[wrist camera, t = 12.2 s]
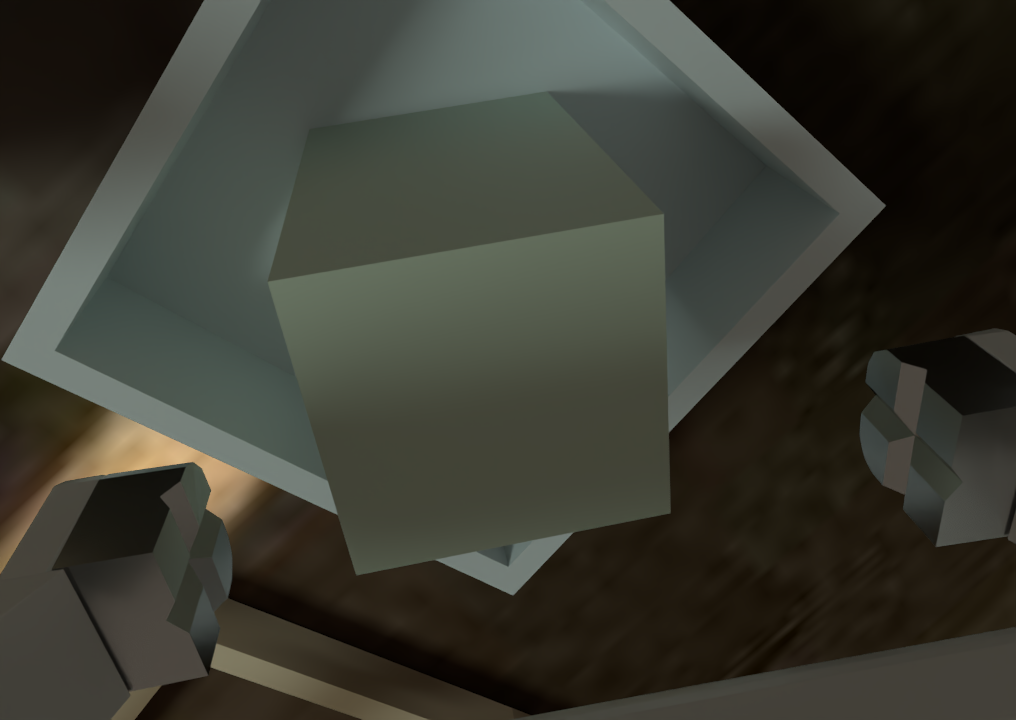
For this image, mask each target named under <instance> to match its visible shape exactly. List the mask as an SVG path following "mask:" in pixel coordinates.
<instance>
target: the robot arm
mask: <svg viewBox="0 0 1016 720" xmlns="http://www.w3.org/2000/svg"><path fill="white" fill-rule="evenodd" d="M866 383H867V385H868V386H869V387H870V389H871V390H872V391H873V392H874V394H875V397H874V398H873V399H872V400H871V402H870V403H869V404H868V405H867V407H866V408H865V409H864V410H863V411H862V413H861V425H860V440H861V444H862V449H863V454H864V457H865V459H866V461H867V463H868V465H869V467H870V469H871V471H872V473H873V474H874V475H875V476H876V478H877V479H878V480H879V481H880V482H881V484H882V485H884V486H886V487H888V488H890V489H893V490H895V491H897V492H900V493H902V494H904V495H905V500H904V507H903V510H904V511H905V512H906V513H907V514H908V515H909V516H910V518H911V519H912V520H913V521H914V522H915V523H916V525H917V526H918V527H919V528H920V529H921V530H922V531H923V533H924V534H925V535H926V536H927V537H928V538H929V540H930V541H931V542H932V543H933V544H934V545H935V546H936V547H938V546H945V545H951V544H958V543H965V542H972V541H978V540H985V539H992V538H998V537H1005V536H1009V537H1008V540H1010V541H1012V542H1014V543H1016V336H1015V335H1014V334H1012V333H1011V332H1009V331H1006V330H1001V329H996V328H994V329H989V330H984V331H979V332H974V333H969V334H964V335H959V336H955V337H952V338H947V339H941V340H936V341H930V342H925V343H920V344H914V345H909V346H903V347H898V348H893V349H887V350H882V351H876V352H874V353H873V355H872V357H871V359H870V361H869V363H868V368H867V375H866ZM210 492H211V489H210V487H209V485H208V482H207V480H206V478H205V475H204V473H203V471H202V468H200V467H199V466H198V465H196V464H195V463H193V462H191V463H184V464H177V465H170V466H163V467H156V468H149V469H142V470H135V471H128V472H121V473H114V474H109V475H107V476H105V475H99V476H93V477H87V478H82V479H76V480H70V481H65V482H63V483H60V484H58V485H56V486H54V488H53V489H52V491H51V493H50V494H49V496H48V497H47V499H46V501H45V502H44V504H43V506H42V507H41V509H40V511H39V512H38V514H37V516H36V517H35V519H34V520H33V522H32V524H31V525H30V527H29V529H28V530H27V532H26V534H25V535H24V537H23V538H22V540H21V542H20V543H19V545H18V547H17V548H16V550H15V552H14V553H13V555H12V557H11V558H10V560H9V561H8V563H7V565H6V566H5V568H4V570H3V571H2V573H1V575H0V720H111V718H112V717H113V716H114V715H115V714H116V713H117V711H118V710H119V709H120V708H121V707H122V705H123V704H124V703H125V702H126V701H127V699H128V698H129V697H130V693H129V692H131V691H136V690H141V689H146V688H151V687H156V686H160V685H165V684H170V683H175V682H180V681H185V680H190V679H195V678H199V677H204V676H208V675H209V671H210V667H211V663H212V659H213V655H214V651H215V647H216V643H217V639H218V635H219V631H220V626H219V624H218V621H217V619H216V616H215V614H214V611H215V610H216V609H217V608H218V607H219V606H220V605H221V604H222V603H223V602H224V601H225V600H226V599H227V598H228V595H229V590H230V586H231V581H232V553H231V548H230V543H229V538H228V534H227V532H226V529H225V526H224V523H223V521H222V519H220V518H219V517H217V516H216V515H214V514H213V513H211V512H210V511H208V510H207V509H205V508H206V505H207V502H208V499H209V495H210ZM510 720H1016V627H1013V628H1008V629H1002V630H996V631H991V632H985V633H980V634H974V635H969V636H963V637H958V638H952V639H947V640H941V641H936V642H930V643H925V644H919V645H914V646H908V647H903V648H897V649H892V650H886V651H881V652H875V653H870V654H864V655H859V656H853V657H848V658H842V659H837V660H831V661H825V662H820V663H814V664H809V665H803V666H798V667H792V668H787V669H781V670H776V671H770V672H765V673H760V674H754V675H749V676H743V677H738V678H732V679H727V680H722V681H716V682H711V683H705V684H700V685H694V686H689V687H684V688H678V689H673V690H667V691H662V692H657V693H651V694H646V695H640V696H635V697H629V698H624V699H619V700H613V701H608V702H602V703H597V704H591V705H586V706H581V707H575V708H570V709H564V710H559V711H554V712H548V713H543V714H537V715H532V716H526V717H521V718H516V719H510Z"/></svg>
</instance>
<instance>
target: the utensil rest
mask: <svg viewBox="0 0 1016 720" xmlns="http://www.w3.org/2000/svg"><path fill="white" fill-rule="evenodd" d="M214 614H215V616H216V619H217V621H218V624H219V626H220V631H219V635H218V639H217V643H216V647H215V651H214V655H213V659H212V663H211V667H212V668H215V669H217V670H220V671H223V672H226V673H229V674H232V675H235V676H238V677H241V678H244V679H246V680H249V681H252V682H255V683H258V684H261V685H264V686H267V687H270V688H273V689H275V690H278V691H281V692H284V693H287V694H290V695H293V696H296V697H299V698H302V699H305V700H307V701H310V702H313V703H316V704H319V705H322V706H325V707H328V708H331V709H334V710H336V711H339V712H342V713H345V714H348V715H351V716H354V717H357V718H360V719H363V720H510V719H516V718H521V717H526V716H532V715H529V714H526V713H524V712H521V711H519V710H516V709H514V708H511V707H508V706H506V705H503V704H501V703H498V702H495V701H493V700H490V699H488V698H485V697H482V696H480V695H477V694H475V693H472V692H469V691H467V690H464V689H462V688H459V687H457V686H454V685H451V684H449V683H446V682H444V681H441V680H438V679H436V678H433V677H431V676H428V675H425V674H423V673H420V672H418V671H415V670H412V669H410V668H407V667H405V666H402V665H400V664H397V663H394V662H392V661H389V660H387V659H384V658H381V657H379V656H376V655H374V654H371V653H368V652H366V651H363V650H361V649H358V648H355V647H353V646H350V645H348V644H345V643H342V642H340V641H337V640H335V639H332V638H330V637H327V636H324V635H322V634H319V633H317V632H314V631H311V630H309V629H306V628H304V627H301V626H298V625H296V624H293V623H291V622H288V621H285V620H283V619H280V618H278V617H275V616H273V615H270V614H267V613H265V612H262V611H260V610H257V609H254V608H252V607H249V606H247V605H244V604H241V603H239V602H236V601H234V600H231V599H228V598H227V599H226V600H225V601H224V602H223V603H222V604H221V605H220V606H219V607H218V608H217V609H216V610H215V611H214ZM160 687H161V685H160V686H156V687H151V688H146V689H141V690H136V691H131V692H129V693H130V697H129V698H128V699H127V701H126V702H125V703H124V704H123V705H122V707H121V708H120V709H119V710H118V711H117V713H116V714H115V715H114V716H113V717H112V718H111V720H135V719H136V717H137V716H138V715H139V713H140V712H141V711H142V710H143V708H144V707H145V706H146V705H147V703H148V702H149V701H150V699H151V698H152V697H153V696H154V694H155V693H156V692H157V691H158V689H159V688H160Z"/></svg>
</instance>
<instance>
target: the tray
mask: <svg viewBox="0 0 1016 720" xmlns="http://www.w3.org/2000/svg"><path fill="white" fill-rule="evenodd" d="M546 91H547V92H548V93H549V94H550V95H551V96H552V97H553V98H554V99H555V101H556V102H557V103H558V104H559V105H560V106H561V107H562V108H563V109H564V110H565V111H566V112H567V113H568V114H569V115H570V116H571V117H572V118H573V119H574V120H575V121H576V122H577V124H578V125H579V126H580V127H581V128H582V129H583V130H584V131H585V132H586V133H587V134H588V135H589V136H590V137H591V138H592V139H593V140H594V141H595V142H596V143H597V144H598V145H599V147H600V148H601V149H602V150H603V151H604V152H605V153H606V154H607V155H608V156H609V157H610V158H611V159H612V160H613V161H614V162H615V163H616V164H617V165H618V166H619V167H620V168H621V170H622V171H623V172H624V173H625V174H626V175H627V176H628V177H629V178H630V179H631V180H632V181H633V182H634V183H635V184H636V185H637V186H638V187H639V188H640V189H641V190H642V191H643V193H644V194H645V195H646V196H647V197H648V198H649V199H650V200H651V201H652V202H653V203H654V204H655V205H656V206H657V207H658V208H659V209H660V210H661V211H662V212H663V213H664V243H665V288H666V333H667V377H668V422H669V432H670V431H671V430H672V429H673V428H674V427H675V426H676V425H677V424H678V423H679V421H680V420H681V419H682V418H683V417H684V416H685V415H686V414H687V413H688V412H689V411H690V410H691V409H692V408H693V407H694V406H695V405H696V404H697V403H698V402H699V401H700V400H701V398H702V397H703V396H704V395H705V394H706V393H707V392H708V391H709V390H710V389H711V388H712V387H713V386H714V385H715V384H716V383H717V382H718V381H719V380H720V379H721V378H722V377H723V376H724V374H725V373H726V372H727V371H728V370H729V369H730V368H731V367H732V366H733V365H734V364H735V363H736V362H737V361H738V360H739V359H740V358H741V357H742V356H743V355H744V354H745V353H746V351H747V350H748V349H749V348H750V347H751V346H752V345H753V344H754V343H755V342H756V341H757V340H758V339H759V338H760V337H761V336H762V335H763V334H764V333H765V332H766V331H767V330H768V328H769V327H770V326H771V325H772V324H773V323H774V322H775V321H776V320H777V319H778V318H779V317H780V316H781V315H782V314H783V313H784V312H785V311H786V310H787V309H788V308H789V307H790V306H791V304H792V303H793V302H794V301H795V300H796V299H797V298H798V297H799V296H800V295H801V294H802V293H803V292H804V291H805V290H806V289H807V288H808V287H809V286H810V285H811V284H812V283H813V281H814V280H815V279H816V278H817V277H818V276H819V275H820V274H821V273H822V272H823V271H824V270H825V269H826V268H827V267H828V266H829V265H830V264H831V263H832V262H833V261H834V260H835V258H836V257H837V256H838V255H839V254H840V253H841V252H842V251H843V250H844V249H845V248H846V247H847V246H848V245H849V244H850V243H851V242H852V241H853V240H854V239H855V238H856V237H857V236H858V234H859V233H860V232H861V231H862V230H863V229H864V228H865V227H866V226H867V225H868V224H869V223H870V222H871V221H872V220H873V219H874V218H875V217H876V216H877V215H878V214H879V213H880V211H881V210H882V209H883V208H884V207H885V206H886V205H885V204H884V203H882V202H881V201H880V200H879V199H878V198H877V197H876V196H875V195H874V194H873V193H872V192H871V191H870V190H869V189H868V188H867V187H866V186H865V185H864V184H862V183H861V182H860V181H859V180H858V179H857V178H856V177H855V176H854V175H853V174H852V173H851V172H850V171H849V170H848V169H847V168H846V167H845V166H843V165H842V164H841V163H840V162H839V161H838V160H837V159H836V158H835V157H834V156H833V155H832V154H831V153H830V152H829V151H828V150H827V149H826V148H824V147H823V146H822V145H821V144H820V143H819V142H818V141H817V140H816V139H815V138H814V137H813V136H812V135H811V134H810V133H809V132H808V131H807V130H806V129H804V128H803V127H802V126H801V125H800V124H799V123H798V122H797V121H796V120H795V119H794V118H793V117H792V116H791V115H790V114H789V113H788V112H787V111H785V110H784V109H783V108H782V107H781V106H780V105H779V104H778V103H777V102H776V101H775V100H774V99H773V98H772V97H771V96H770V95H769V94H768V93H767V92H765V91H764V90H763V89H762V88H761V87H760V86H759V85H758V84H757V83H756V82H755V81H754V80H753V79H752V78H751V77H750V76H749V75H748V74H746V73H745V72H744V71H743V70H742V69H741V68H740V67H739V66H738V65H737V64H736V63H735V62H734V61H733V60H732V59H731V58H730V57H729V56H728V55H726V54H725V53H724V52H723V51H722V50H721V49H720V48H719V47H718V46H717V45H716V44H715V43H714V42H713V41H712V40H711V39H710V38H709V37H707V36H706V35H705V34H704V33H703V32H702V31H701V30H700V29H699V28H698V27H697V26H696V25H695V24H694V23H693V22H692V21H691V20H690V19H689V18H687V17H686V16H685V15H684V14H683V13H682V12H681V11H680V10H679V9H678V8H677V7H676V6H675V5H674V4H673V3H672V2H671V1H670V0H204V1H203V3H202V5H201V7H200V9H199V10H198V12H197V14H196V16H195V17H194V19H193V21H192V23H191V25H190V26H189V28H188V30H187V32H186V33H185V35H184V37H183V39H182V40H181V42H180V44H179V46H178V48H177V49H176V51H175V53H174V55H173V56H172V58H171V60H170V62H169V64H168V65H167V67H166V69H165V71H164V72H163V74H162V76H161V78H160V80H159V81H158V83H157V85H156V87H155V88H154V90H153V92H152V94H151V95H150V97H149V99H148V101H147V103H146V104H145V106H144V108H143V110H142V111H141V113H140V115H139V117H138V119H137V120H136V122H135V124H134V126H133V127H132V129H131V131H130V133H129V134H128V136H127V138H126V140H125V142H124V143H123V145H122V147H121V149H120V150H119V152H118V154H117V156H116V158H115V159H114V161H113V163H112V165H111V166H110V168H109V170H108V172H107V174H106V175H105V177H104V179H103V181H102V182H101V184H100V186H99V188H98V189H97V191H96V193H95V195H94V197H93V198H92V200H91V202H90V204H89V205H88V207H87V209H86V211H85V213H84V214H83V216H82V218H81V220H80V221H79V223H78V225H77V227H76V228H75V230H74V232H73V234H72V236H71V237H70V239H69V241H68V243H67V244H66V246H65V248H64V250H63V252H62V253H61V255H60V257H59V259H58V260H57V262H56V264H55V266H54V268H53V269H52V271H51V273H50V275H49V276H48V278H47V280H46V282H45V283H44V285H43V287H42V289H41V291H40V292H39V294H38V296H37V298H36V299H35V301H34V303H33V305H32V307H31V308H30V310H29V312H28V314H27V315H26V317H25V319H24V321H23V322H22V324H21V326H20V328H19V330H18V331H17V333H16V335H15V337H14V338H13V340H12V342H11V344H10V346H9V347H8V349H7V351H6V353H5V354H4V356H3V358H2V360H3V361H5V362H7V363H9V364H11V365H13V366H16V367H18V368H20V369H22V370H24V371H26V372H29V373H31V374H33V375H35V376H37V377H39V378H42V379H44V380H46V381H48V382H50V383H53V384H55V385H57V386H59V387H61V388H63V389H66V390H68V391H70V392H72V393H74V394H76V395H79V396H81V397H83V398H85V399H87V400H89V401H92V402H94V403H96V404H98V405H100V406H103V407H105V408H107V409H109V410H111V411H113V412H116V413H118V414H120V415H122V416H124V417H126V418H129V419H131V420H133V421H135V422H137V423H139V424H142V425H144V426H146V427H148V428H150V429H153V430H155V431H157V432H159V433H161V434H163V435H166V436H168V437H170V438H172V439H174V440H176V441H179V442H181V443H183V444H185V445H187V446H189V447H192V448H194V449H196V450H198V451H200V452H203V453H205V454H207V455H209V456H211V457H213V458H216V459H218V460H220V461H222V462H224V463H226V464H229V465H231V466H233V467H235V468H237V469H239V470H242V471H244V472H246V473H248V474H250V475H252V476H255V477H257V478H259V479H261V480H263V481H266V482H268V483H270V484H272V485H274V486H276V487H279V488H281V489H283V490H285V491H287V492H289V493H292V494H294V495H296V496H298V497H300V498H302V499H305V500H307V501H309V502H311V503H313V504H316V505H318V506H320V507H322V508H324V509H326V510H329V511H331V512H333V513H335V514H337V515H338V513H337V510H336V507H335V503H334V500H333V497H332V494H331V490H330V487H329V484H328V480H327V477H326V474H325V470H324V467H323V464H322V460H321V457H320V454H319V451H318V447H317V444H316V441H315V437H314V434H313V431H312V427H311V424H310V421H309V418H308V414H307V411H306V408H305V404H304V401H303V398H302V394H301V391H300V388H299V384H298V381H297V378H296V375H295V371H294V368H293V365H292V361H291V358H290V355H289V351H288V348H287V345H286V342H285V338H284V335H283V332H282V328H281V325H280V322H279V318H278V315H277V312H276V308H275V305H274V302H273V299H272V295H271V292H270V289H269V285H268V278H269V274H270V271H271V267H272V263H273V260H274V256H275V253H276V249H277V245H278V242H279V238H280V234H281V231H282V227H283V223H284V220H285V216H286V213H287V209H288V205H289V202H290V198H291V194H292V191H293V187H294V183H295V180H296V176H297V172H298V169H299V165H300V162H301V158H302V154H303V151H304V147H305V143H306V140H307V136H308V132H309V129H313V128H320V127H326V126H332V125H339V124H345V123H351V122H357V121H364V120H370V119H376V118H383V117H389V116H395V115H401V114H408V113H414V112H420V111H427V110H433V109H439V108H445V107H452V106H458V105H464V104H470V103H477V102H483V101H489V100H496V99H502V98H508V97H514V96H521V95H527V94H533V93H540V92H546ZM572 533H573V532H572ZM572 533H567V534H562V535H557V536H552V537H547V538H542V539H537V540H532V541H527V542H522V543H517V544H512V545H507V546H502V547H496V548H491V549H486V550H481V551H476V552H471V553H466V554H461V555H456V556H451V557H446V558H441V559H436V560H437V561H439V562H442V563H444V564H446V565H448V566H450V567H452V568H455V569H457V570H459V571H461V572H463V573H465V574H468V575H470V576H472V577H474V578H476V579H479V580H481V581H483V582H485V583H487V584H489V585H492V586H494V587H496V588H498V589H500V590H502V591H505V592H507V593H509V594H511V595H514V594H515V593H516V592H517V591H518V590H519V589H520V588H521V587H522V585H523V584H524V583H525V582H526V581H527V580H528V579H529V578H530V577H531V576H532V575H533V574H534V573H535V572H536V571H537V570H538V569H539V568H540V567H541V566H542V565H543V564H544V563H545V561H546V560H547V559H548V558H549V557H550V556H551V555H552V554H553V553H554V552H555V551H556V550H557V549H558V548H559V547H560V546H561V545H562V544H563V543H564V542H565V541H566V540H567V538H568V537H569V536H570V535H571V534H572Z"/></svg>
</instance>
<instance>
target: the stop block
mask: <svg viewBox="0 0 1016 720" xmlns="http://www.w3.org/2000/svg"><path fill="white" fill-rule="evenodd" d="M268 285H269V289H270V292H271V295H272V299H273V302H274V305H275V308H276V312H277V315H278V318H279V322H280V325H281V328H282V332H283V335H284V338H285V342H286V345H287V348H288V351H289V355H290V358H291V361H292V365H293V368H294V371H295V375H296V378H297V381H298V384H299V388H300V391H301V394H302V398H303V401H304V404H305V408H306V411H307V414H308V418H309V421H310V424H311V427H312V431H313V434H314V437H315V441H316V444H317V447H318V451H319V454H320V457H321V460H322V464H323V467H324V470H325V474H326V477H327V480H328V484H329V487H330V490H331V494H332V497H333V500H334V503H335V507H336V510H337V513H338V517H339V520H340V523H341V527H342V530H343V533H344V536H345V540H346V543H347V546H348V550H349V553H350V556H351V560H352V563H353V566H354V570H355V573H356V575H360V574H365V573H370V572H375V571H380V570H385V569H390V568H396V567H401V566H406V565H411V564H416V563H421V562H426V561H431V560H436V559H441V558H446V557H451V556H456V555H461V554H466V553H471V552H476V551H481V550H486V549H491V548H496V547H502V546H507V545H512V544H517V543H522V542H527V541H532V540H537V539H542V538H547V537H552V536H557V535H562V534H567V533H572V532H577V531H582V530H587V529H592V528H597V527H602V526H608V525H613V524H618V523H623V522H628V521H633V520H638V519H643V518H648V517H653V516H658V515H663V514H668V513H671V511H670V467H669V422H668V377H667V333H666V288H665V243H664V213H663V212H662V211H661V210H660V209H659V208H658V207H657V206H656V205H655V204H654V203H653V202H652V201H651V200H650V199H649V198H648V197H647V196H646V195H645V194H644V193H643V191H642V190H641V189H640V188H639V187H638V186H637V185H636V184H635V183H634V182H633V181H632V180H631V179H630V178H629V177H628V176H627V175H626V174H625V173H624V172H623V171H622V170H621V168H620V167H619V166H618V165H617V164H616V163H615V162H614V161H613V160H612V159H611V158H610V157H609V156H608V155H607V154H606V153H605V152H604V151H603V150H602V149H601V148H600V147H599V145H598V144H597V143H596V142H595V141H594V140H593V139H592V138H591V137H590V136H589V135H588V134H587V133H586V132H585V131H584V130H583V129H582V128H581V127H580V126H579V125H578V124H577V122H576V121H575V120H574V119H573V118H572V117H571V116H570V115H569V114H568V113H567V112H566V111H565V110H564V109H563V108H562V107H561V106H560V105H559V104H558V103H557V102H556V101H555V99H554V98H553V97H552V96H551V95H550V94H549V93H548V92H547V91H546V92H540V93H533V94H527V95H521V96H514V97H508V98H502V99H496V100H489V101H483V102H477V103H470V104H464V105H458V106H452V107H445V108H439V109H433V110H427V111H420V112H414V113H408V114H401V115H395V116H389V117H383V118H376V119H370V120H364V121H357V122H351V123H345V124H339V125H332V126H326V127H320V128H313V129H309V132H308V136H307V140H306V143H305V147H304V151H303V154H302V158H301V162H300V165H299V169H298V172H297V176H296V180H295V183H294V187H293V191H292V194H291V198H290V202H289V205H288V209H287V213H286V216H285V220H284V223H283V227H282V231H281V234H280V238H279V242H278V245H277V249H276V253H275V256H274V260H273V263H272V267H271V271H270V274H269V278H268Z"/></svg>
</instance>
